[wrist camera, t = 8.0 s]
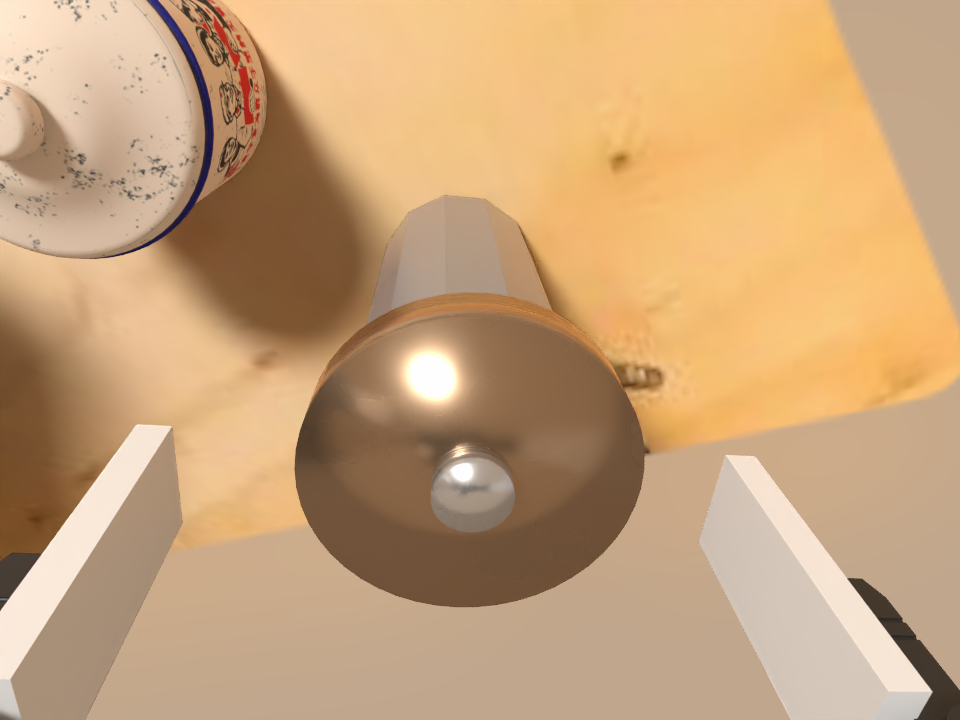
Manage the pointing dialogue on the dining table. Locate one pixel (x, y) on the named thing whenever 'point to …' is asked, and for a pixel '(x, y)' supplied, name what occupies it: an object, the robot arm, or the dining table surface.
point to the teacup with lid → (119, 118)
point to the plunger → (468, 451)
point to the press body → (456, 256)
